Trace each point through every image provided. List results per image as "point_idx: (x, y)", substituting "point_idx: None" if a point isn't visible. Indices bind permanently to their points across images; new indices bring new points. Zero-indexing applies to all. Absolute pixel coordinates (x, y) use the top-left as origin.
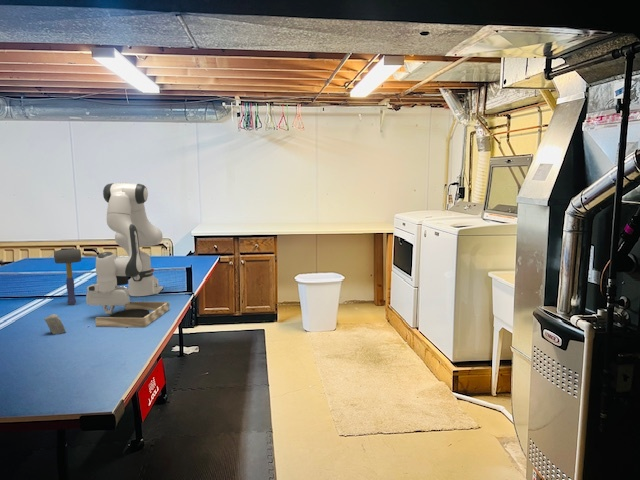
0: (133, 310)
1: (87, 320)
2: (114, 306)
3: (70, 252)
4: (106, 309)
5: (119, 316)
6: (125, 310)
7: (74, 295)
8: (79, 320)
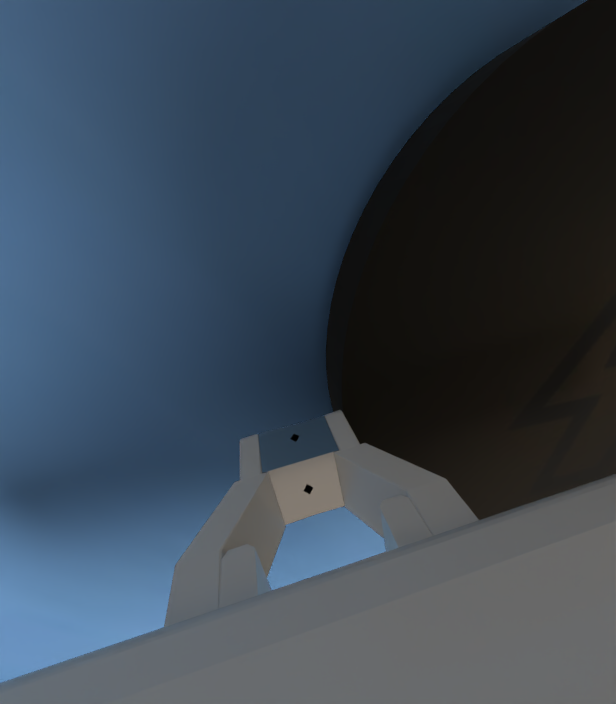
0: (613, 124)
1: (112, 584)
2: (450, 492)
3: None
4: (270, 531)
5: (511, 468)
6: (458, 166)
7: None
8: (5, 622)
